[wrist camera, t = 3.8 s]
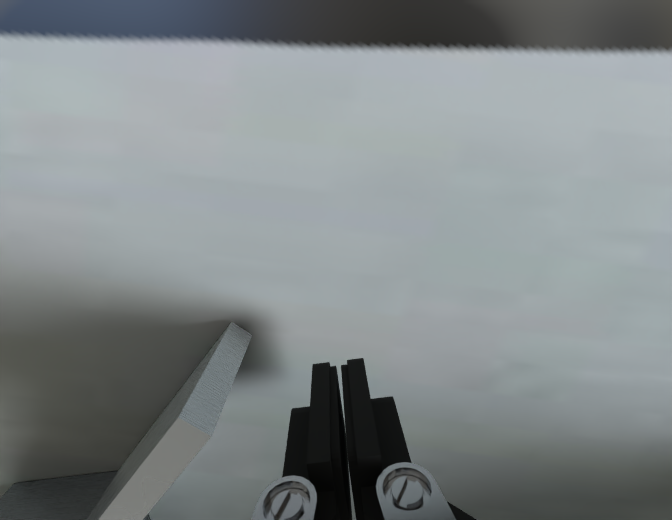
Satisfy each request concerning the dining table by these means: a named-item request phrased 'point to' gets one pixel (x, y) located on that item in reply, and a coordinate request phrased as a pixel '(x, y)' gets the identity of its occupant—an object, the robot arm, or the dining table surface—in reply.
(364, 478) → the robot arm
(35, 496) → the hinge base
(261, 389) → the dining table surface
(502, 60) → the dining table surface
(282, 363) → the dining table surface
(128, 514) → the loose leaf
